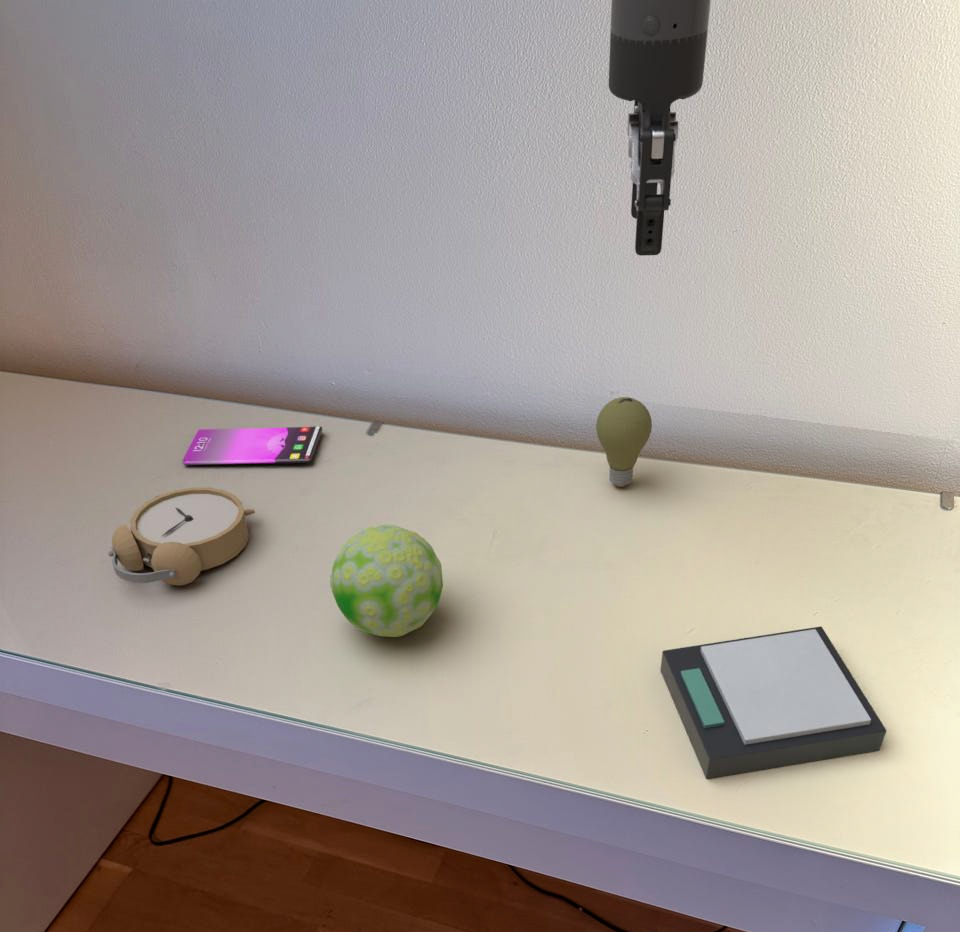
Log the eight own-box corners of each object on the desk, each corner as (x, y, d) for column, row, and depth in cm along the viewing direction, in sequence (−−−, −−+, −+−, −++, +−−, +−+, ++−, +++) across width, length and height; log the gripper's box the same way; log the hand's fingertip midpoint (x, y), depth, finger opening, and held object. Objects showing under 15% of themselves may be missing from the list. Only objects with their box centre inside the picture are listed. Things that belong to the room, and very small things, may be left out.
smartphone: (311, 466, 108) (310, 459, 107) (182, 466, 109) (180, 460, 108) (324, 431, 113) (322, 425, 112) (200, 432, 114) (198, 426, 114)
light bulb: (620, 463, 105) (624, 380, 98) (658, 484, 102) (665, 400, 95) (583, 483, 103) (585, 400, 96) (620, 506, 100) (626, 421, 93)
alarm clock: (268, 501, 98) (164, 565, 87) (272, 544, 101) (172, 610, 90) (184, 476, 102) (74, 534, 91) (190, 518, 105) (85, 578, 94)
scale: (816, 645, 83) (823, 620, 81) (879, 750, 75) (889, 725, 73) (660, 670, 82) (662, 645, 80) (706, 779, 74) (710, 754, 72)
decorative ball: (457, 592, 91) (449, 506, 84) (431, 666, 84) (421, 579, 77) (358, 582, 93) (342, 497, 86) (325, 654, 86) (305, 568, 79)
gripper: (717, 44, 69) (694, 266, 80) (699, 2, 79) (681, 204, 91) (613, 48, 70) (604, 268, 81) (608, 6, 80) (601, 206, 91)
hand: (645, 234), depth 86 cm, fingers open, 8 cm apart
